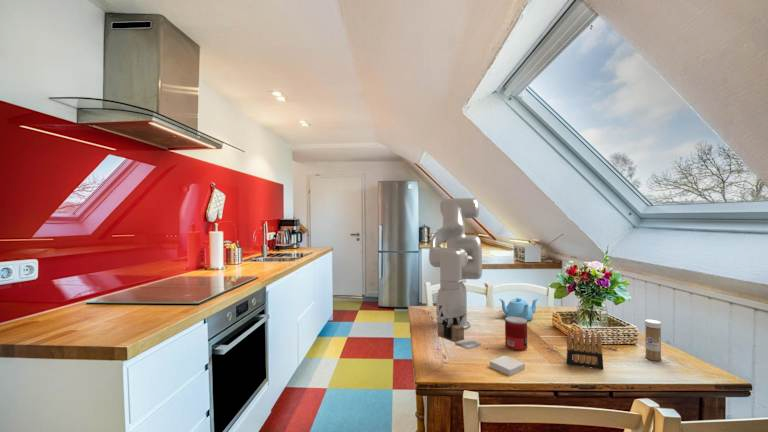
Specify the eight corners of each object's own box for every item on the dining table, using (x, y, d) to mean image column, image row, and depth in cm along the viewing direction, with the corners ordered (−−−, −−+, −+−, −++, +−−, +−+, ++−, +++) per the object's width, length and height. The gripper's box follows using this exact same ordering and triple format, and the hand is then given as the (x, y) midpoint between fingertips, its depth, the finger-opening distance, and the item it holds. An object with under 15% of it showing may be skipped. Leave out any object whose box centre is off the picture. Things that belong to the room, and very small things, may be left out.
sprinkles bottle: (643, 358, 119) (643, 320, 119) (646, 354, 122) (646, 318, 122) (660, 362, 115) (659, 323, 115) (662, 358, 118) (662, 321, 118)
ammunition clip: (602, 367, 112) (601, 331, 113) (603, 369, 111) (603, 333, 111) (566, 362, 116) (566, 328, 116) (567, 364, 115) (566, 329, 115)
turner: (434, 336, 120) (434, 322, 120) (446, 333, 124) (446, 320, 124) (468, 349, 107) (467, 334, 107) (480, 345, 110) (480, 330, 110)
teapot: (511, 312, 177) (511, 293, 177) (540, 318, 166) (540, 298, 166) (498, 318, 167) (498, 298, 167) (528, 325, 156) (528, 303, 156)
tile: (489, 361, 114) (510, 369, 107) (504, 355, 118) (524, 363, 111) (489, 367, 114) (510, 377, 107) (504, 361, 118) (524, 370, 111)
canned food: (529, 352, 125) (529, 322, 125) (507, 350, 127) (506, 321, 127) (524, 344, 133) (524, 316, 133) (504, 343, 135) (503, 315, 135)
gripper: (459, 280, 125) (459, 329, 125) (426, 285, 116) (426, 338, 116) (474, 284, 119) (475, 335, 119) (441, 289, 110) (441, 345, 110)
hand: (451, 336), depth 117 cm, fingers closed on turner, 3 cm apart
